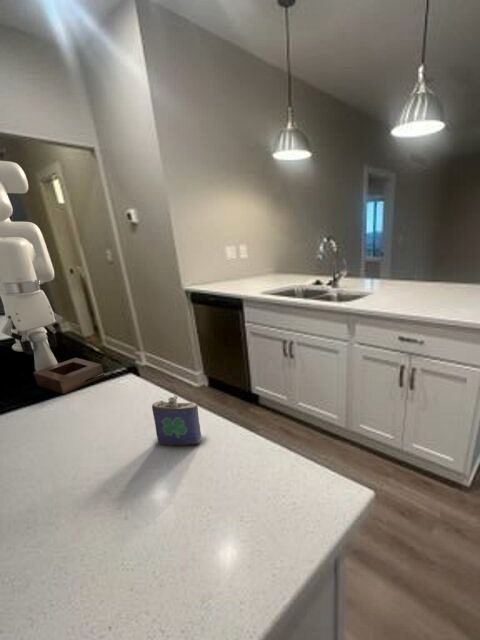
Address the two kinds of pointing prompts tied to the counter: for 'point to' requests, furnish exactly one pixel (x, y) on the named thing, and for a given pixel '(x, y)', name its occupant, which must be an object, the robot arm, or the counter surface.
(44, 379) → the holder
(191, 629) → the counter surface
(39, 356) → the salt shaker
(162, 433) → the flask
